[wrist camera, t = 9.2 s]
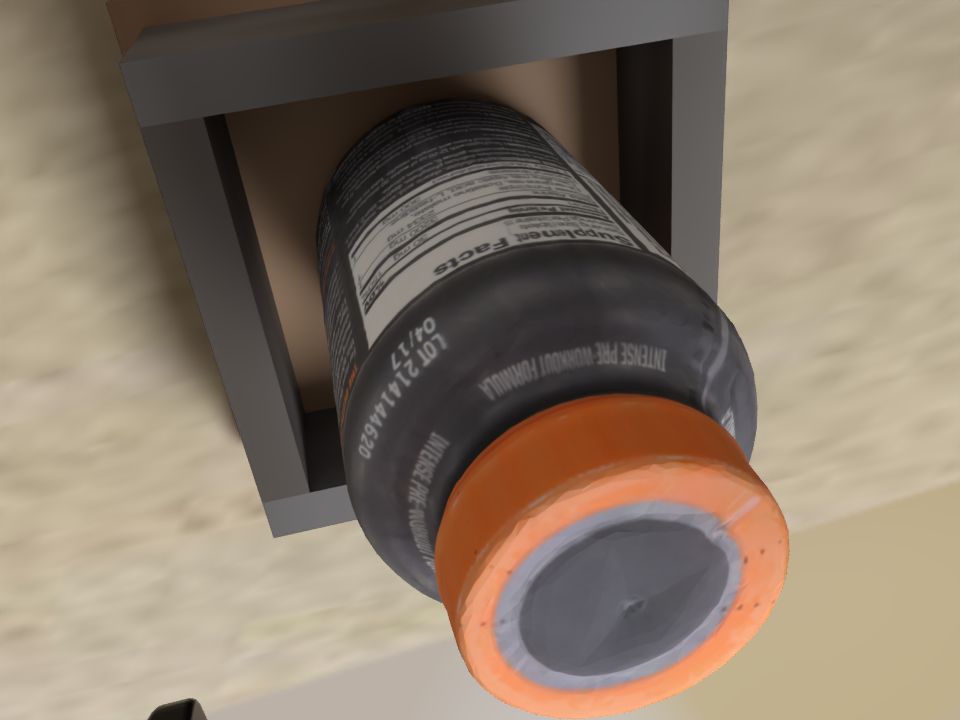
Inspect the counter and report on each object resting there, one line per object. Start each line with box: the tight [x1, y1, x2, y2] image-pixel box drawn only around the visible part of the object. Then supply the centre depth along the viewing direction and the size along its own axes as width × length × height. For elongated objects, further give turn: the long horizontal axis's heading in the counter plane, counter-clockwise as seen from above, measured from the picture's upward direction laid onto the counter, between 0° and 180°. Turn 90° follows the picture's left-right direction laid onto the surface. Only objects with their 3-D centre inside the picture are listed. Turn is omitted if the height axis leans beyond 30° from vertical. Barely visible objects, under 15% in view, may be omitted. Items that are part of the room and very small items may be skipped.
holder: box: [106, 0, 729, 538], centre depth 18 cm, size 11×11×4 cm
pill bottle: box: [316, 98, 789, 719], centre depth 14 cm, size 6×6×11 cm
